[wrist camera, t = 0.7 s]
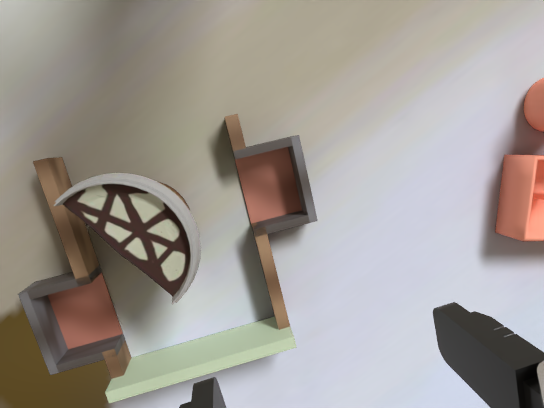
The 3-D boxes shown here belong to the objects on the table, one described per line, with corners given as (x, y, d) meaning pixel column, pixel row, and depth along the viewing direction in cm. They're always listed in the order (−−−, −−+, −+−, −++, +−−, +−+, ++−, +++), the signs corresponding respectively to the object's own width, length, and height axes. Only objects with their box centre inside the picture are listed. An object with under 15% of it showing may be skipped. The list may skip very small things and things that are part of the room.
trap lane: (-8, 173, 34) (-47, 178, 29) (285, 104, 36) (295, 98, 32) (74, 385, 38) (52, 420, 33) (331, 310, 41) (346, 332, 36)
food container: (230, 225, 38) (232, 253, 28) (189, 266, 38) (177, 308, 28) (139, 140, 35) (107, 138, 25) (95, 185, 35) (47, 200, 25)
